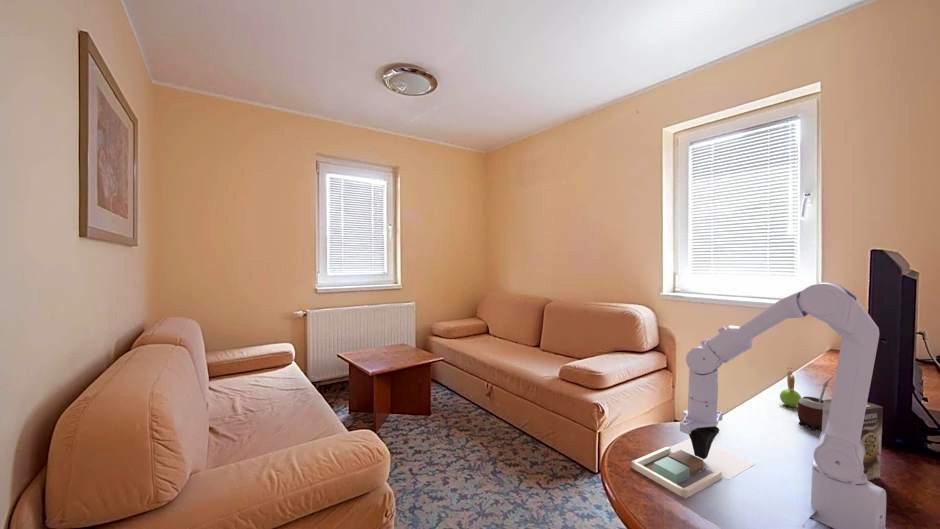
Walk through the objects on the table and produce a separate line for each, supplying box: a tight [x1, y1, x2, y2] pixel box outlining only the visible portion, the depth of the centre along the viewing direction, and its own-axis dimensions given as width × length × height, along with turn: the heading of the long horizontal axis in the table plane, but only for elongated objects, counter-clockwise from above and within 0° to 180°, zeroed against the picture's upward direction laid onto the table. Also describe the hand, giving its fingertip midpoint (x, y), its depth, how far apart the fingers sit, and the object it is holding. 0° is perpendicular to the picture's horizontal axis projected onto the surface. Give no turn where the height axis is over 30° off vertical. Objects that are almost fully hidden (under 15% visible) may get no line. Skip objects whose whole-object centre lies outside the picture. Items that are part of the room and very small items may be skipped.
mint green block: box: [652, 456, 691, 485], centre depth 79 cm, size 5×5×3 cm
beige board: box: [669, 438, 756, 480], centre depth 87 cm, size 14×12×2 cm
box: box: [630, 446, 723, 500], centre depth 80 cm, size 12×14×3 cm
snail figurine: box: [779, 366, 802, 408], centre depth 122 cm, size 5×6×12 cm
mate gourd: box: [797, 374, 834, 432], centre depth 106 cm, size 8×8×15 cm
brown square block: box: [667, 450, 704, 477], centre depth 83 cm, size 5×5×3 cm
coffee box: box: [821, 398, 884, 481], centre depth 84 cm, size 9×6×16 cm
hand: (700, 456), depth 85 cm, fingers closed
